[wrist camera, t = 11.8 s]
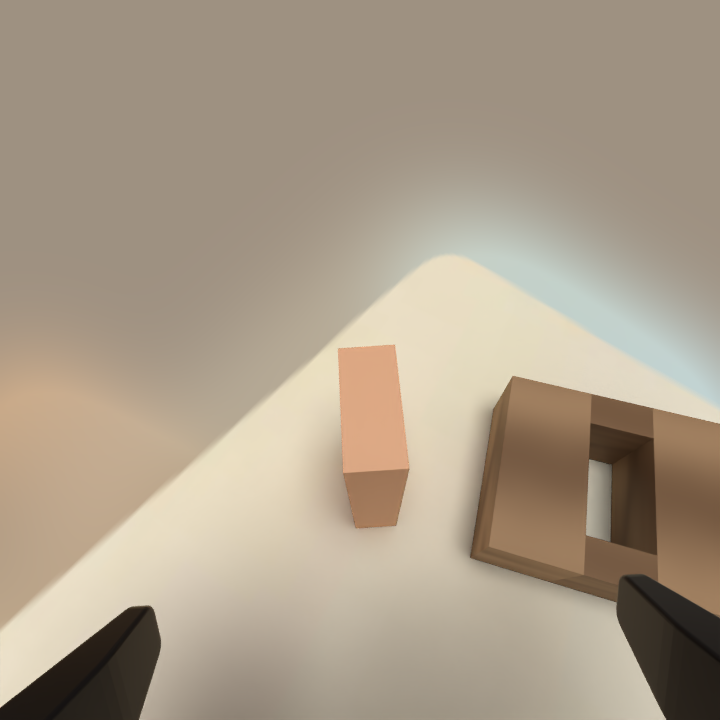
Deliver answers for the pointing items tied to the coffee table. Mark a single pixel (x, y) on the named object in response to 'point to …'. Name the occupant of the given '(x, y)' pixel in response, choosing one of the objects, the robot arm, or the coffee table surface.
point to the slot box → (629, 493)
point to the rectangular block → (372, 434)
